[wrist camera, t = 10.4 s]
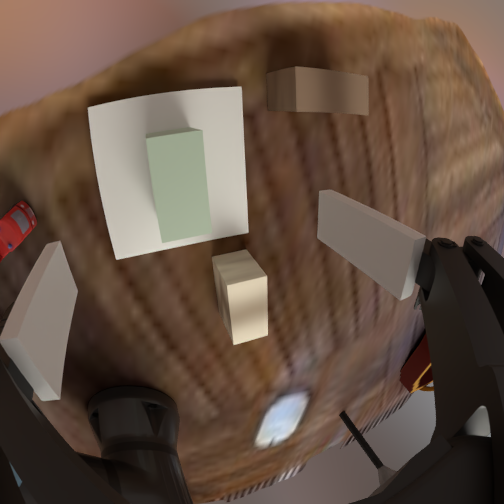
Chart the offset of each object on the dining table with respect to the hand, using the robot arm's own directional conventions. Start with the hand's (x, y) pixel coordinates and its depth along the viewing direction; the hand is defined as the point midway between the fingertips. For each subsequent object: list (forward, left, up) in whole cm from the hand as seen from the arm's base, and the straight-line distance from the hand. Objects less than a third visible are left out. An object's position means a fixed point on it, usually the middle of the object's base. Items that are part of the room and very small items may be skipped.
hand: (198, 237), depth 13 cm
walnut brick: (+7, -14, -15) cm, 22 cm away
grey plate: (0, 0, -15) cm, 15 cm away
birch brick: (-14, -5, -15) cm, 21 cm away
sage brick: (0, 0, -14) cm, 14 cm away
